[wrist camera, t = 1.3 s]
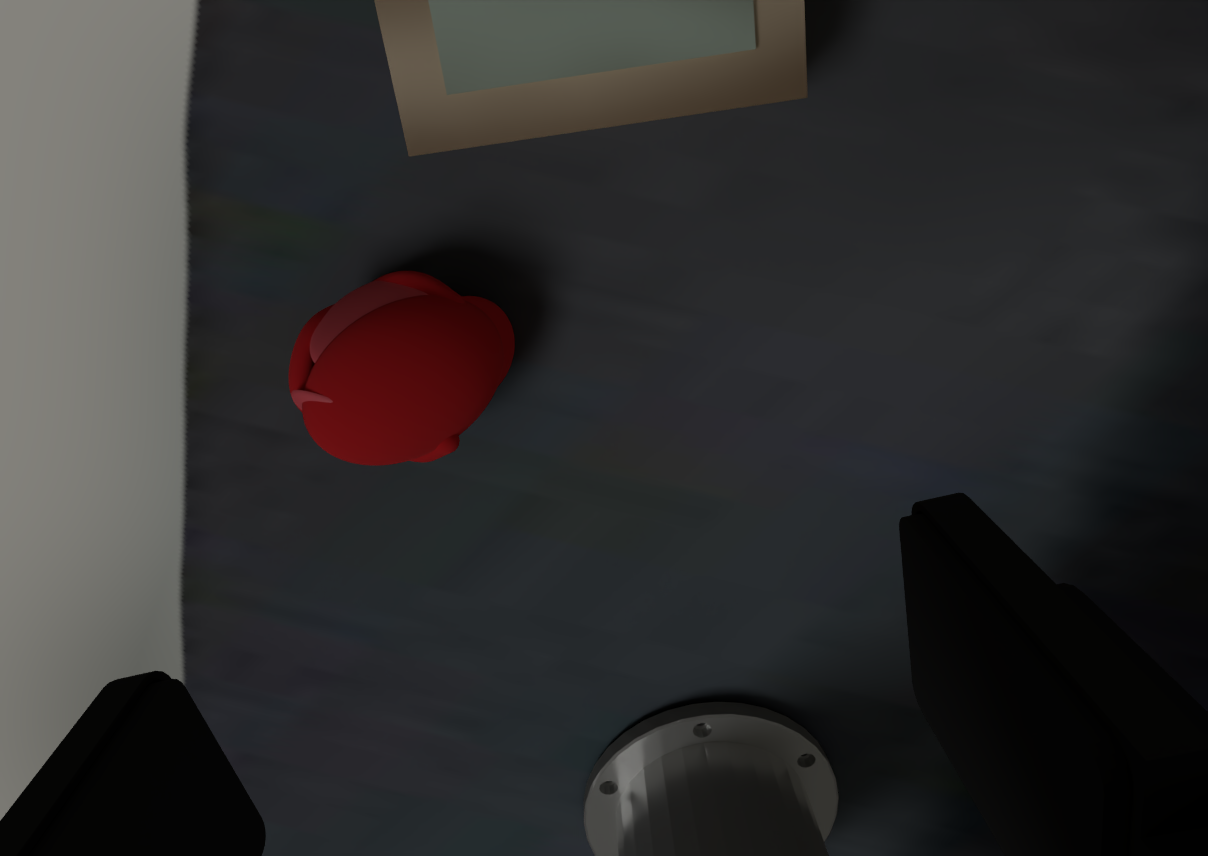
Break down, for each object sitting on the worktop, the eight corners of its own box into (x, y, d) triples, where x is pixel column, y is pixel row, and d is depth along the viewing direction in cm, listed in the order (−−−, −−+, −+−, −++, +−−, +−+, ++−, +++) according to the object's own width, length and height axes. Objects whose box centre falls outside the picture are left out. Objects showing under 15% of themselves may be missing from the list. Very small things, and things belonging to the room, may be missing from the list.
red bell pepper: (315, 494, 28) (443, 531, 25) (226, 369, 24) (367, 396, 21) (437, 357, 33) (556, 376, 30) (380, 234, 29) (512, 242, 26)
